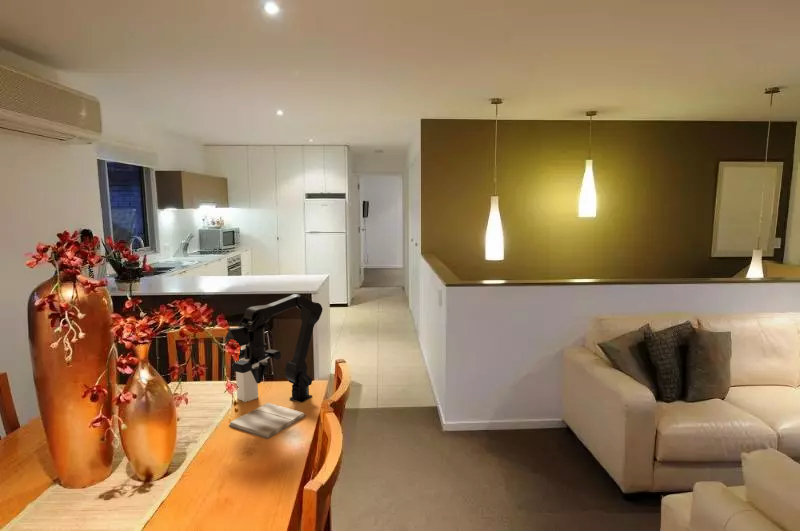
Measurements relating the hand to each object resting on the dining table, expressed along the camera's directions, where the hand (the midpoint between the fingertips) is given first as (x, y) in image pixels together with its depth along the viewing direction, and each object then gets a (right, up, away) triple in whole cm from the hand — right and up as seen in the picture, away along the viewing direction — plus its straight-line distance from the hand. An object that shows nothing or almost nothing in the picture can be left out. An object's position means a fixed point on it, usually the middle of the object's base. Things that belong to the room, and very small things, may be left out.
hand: (258, 383), depth 168 cm
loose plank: (+8, -12, +1) cm, 14 cm away
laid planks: (+3, -13, -7) cm, 15 cm away
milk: (-9, -10, +16) cm, 21 cm away
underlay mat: (+5, -13, -4) cm, 14 cm away
